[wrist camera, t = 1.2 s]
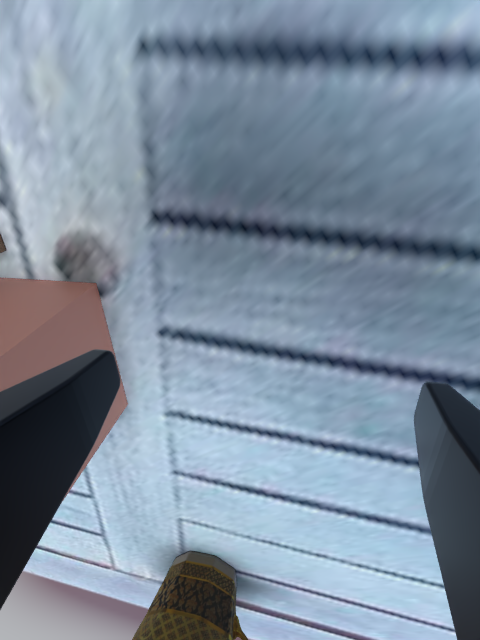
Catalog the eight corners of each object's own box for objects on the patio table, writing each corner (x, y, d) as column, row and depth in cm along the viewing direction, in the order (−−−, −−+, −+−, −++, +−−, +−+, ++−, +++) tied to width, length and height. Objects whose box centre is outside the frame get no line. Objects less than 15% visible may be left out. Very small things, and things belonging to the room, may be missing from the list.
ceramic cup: (169, 583, 41) (128, 705, 33) (153, 533, 36) (99, 662, 28) (283, 608, 39) (270, 748, 30) (282, 557, 34) (266, 708, 25)
